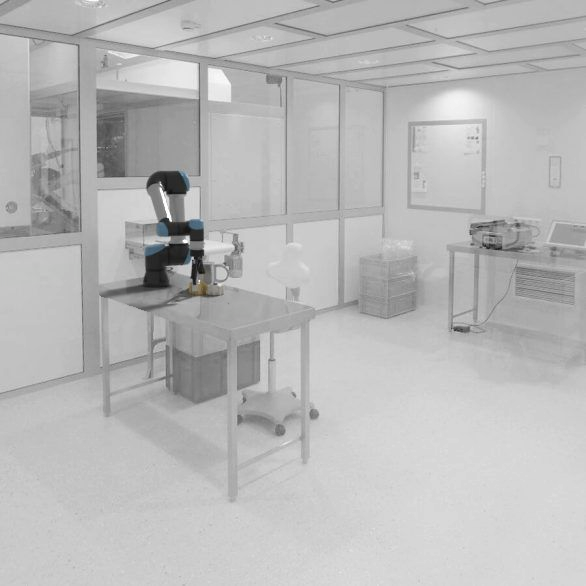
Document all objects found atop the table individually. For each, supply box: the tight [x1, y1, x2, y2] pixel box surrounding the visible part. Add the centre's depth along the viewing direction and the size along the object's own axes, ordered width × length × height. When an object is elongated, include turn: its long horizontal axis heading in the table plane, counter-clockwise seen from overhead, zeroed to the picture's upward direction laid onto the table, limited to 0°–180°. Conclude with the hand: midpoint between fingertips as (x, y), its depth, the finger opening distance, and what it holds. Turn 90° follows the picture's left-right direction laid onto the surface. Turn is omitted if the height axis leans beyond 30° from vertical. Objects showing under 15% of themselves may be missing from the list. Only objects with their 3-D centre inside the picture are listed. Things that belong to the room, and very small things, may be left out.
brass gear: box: [188, 281, 207, 296], centre depth 350 cm, size 9×9×6 cm
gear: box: [206, 282, 225, 296], centre depth 349 cm, size 9×9×6 cm
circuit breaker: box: [197, 261, 217, 286], centre depth 368 cm, size 8×14×15 cm, turn 174°
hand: (197, 288), depth 350 cm, fingers open, 13 cm apart
